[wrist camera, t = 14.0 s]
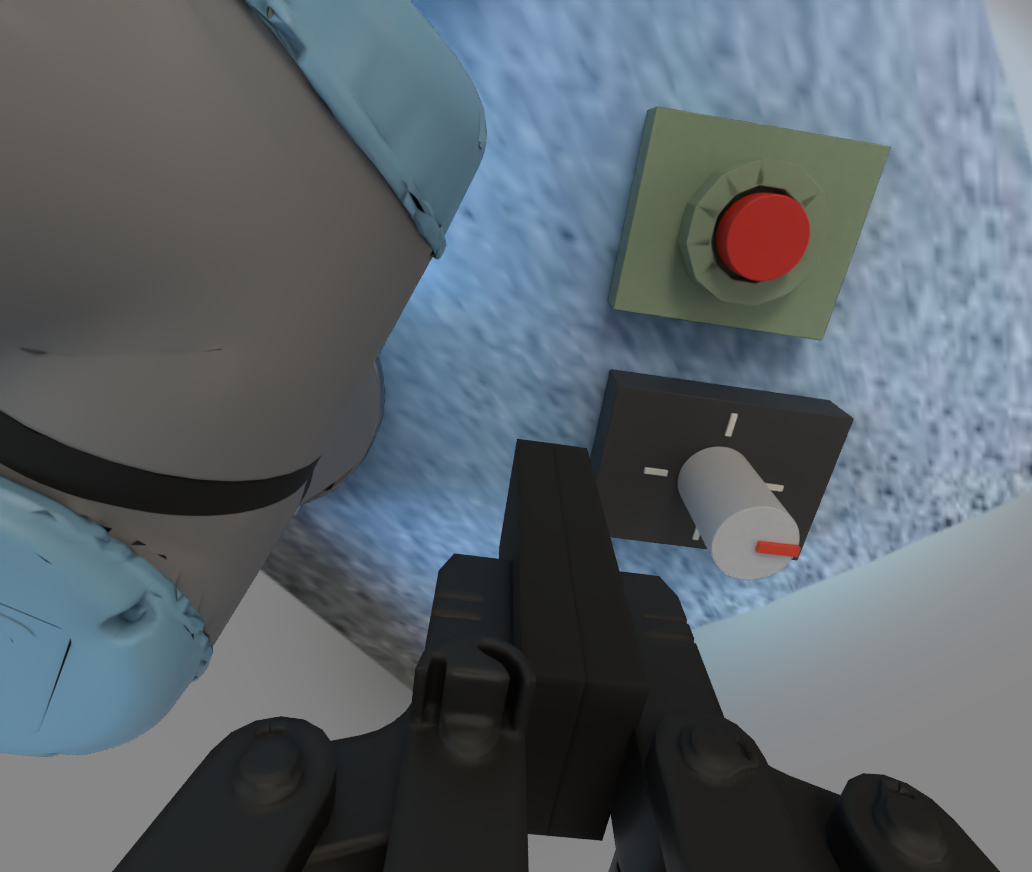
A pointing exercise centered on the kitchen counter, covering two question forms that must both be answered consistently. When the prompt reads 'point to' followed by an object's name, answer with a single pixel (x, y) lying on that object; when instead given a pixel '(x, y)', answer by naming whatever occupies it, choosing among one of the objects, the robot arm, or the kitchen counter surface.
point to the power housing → (711, 192)
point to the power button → (763, 236)
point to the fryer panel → (699, 425)
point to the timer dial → (737, 514)
